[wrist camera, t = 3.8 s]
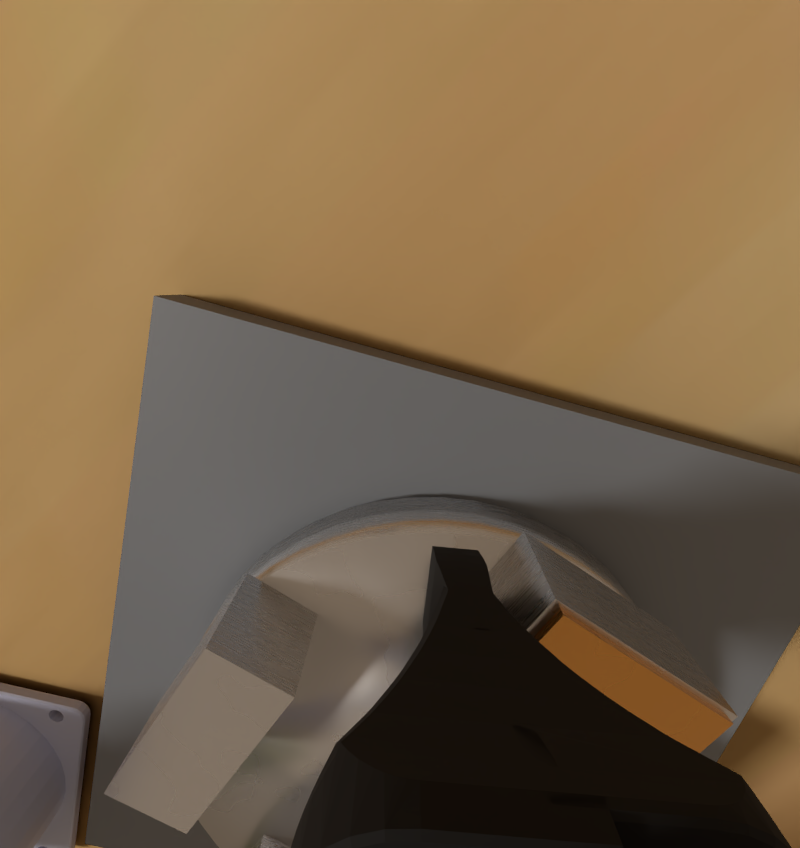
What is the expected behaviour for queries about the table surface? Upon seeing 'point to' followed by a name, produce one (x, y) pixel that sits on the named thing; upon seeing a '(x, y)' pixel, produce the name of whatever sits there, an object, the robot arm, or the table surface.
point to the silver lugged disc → (378, 658)
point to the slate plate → (413, 477)
